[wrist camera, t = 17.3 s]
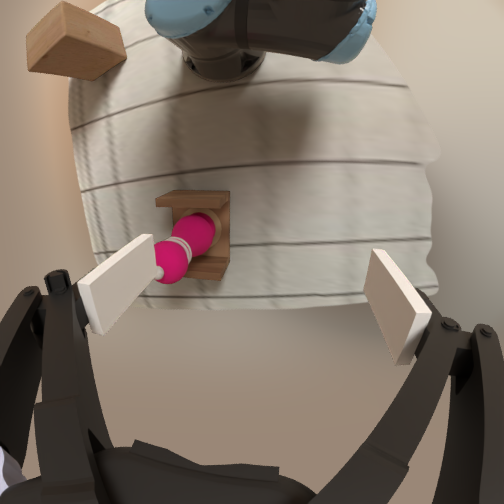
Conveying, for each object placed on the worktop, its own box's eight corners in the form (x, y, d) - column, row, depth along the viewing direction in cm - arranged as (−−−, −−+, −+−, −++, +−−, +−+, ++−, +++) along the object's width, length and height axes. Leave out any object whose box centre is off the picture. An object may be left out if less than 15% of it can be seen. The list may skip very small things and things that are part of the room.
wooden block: (128, 58, 40) (65, 35, 22) (92, 82, 43) (26, 72, 24) (119, 26, 37) (62, -1, 19) (86, 50, 39) (25, 35, 21)
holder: (173, 190, 50) (155, 198, 43) (229, 191, 49) (219, 199, 42) (177, 257, 56) (162, 274, 48) (229, 261, 55) (220, 280, 47)
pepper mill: (193, 251, 53) (149, 306, 35) (175, 219, 51) (120, 261, 33) (225, 237, 51) (191, 290, 33) (206, 202, 49) (160, 239, 31)
